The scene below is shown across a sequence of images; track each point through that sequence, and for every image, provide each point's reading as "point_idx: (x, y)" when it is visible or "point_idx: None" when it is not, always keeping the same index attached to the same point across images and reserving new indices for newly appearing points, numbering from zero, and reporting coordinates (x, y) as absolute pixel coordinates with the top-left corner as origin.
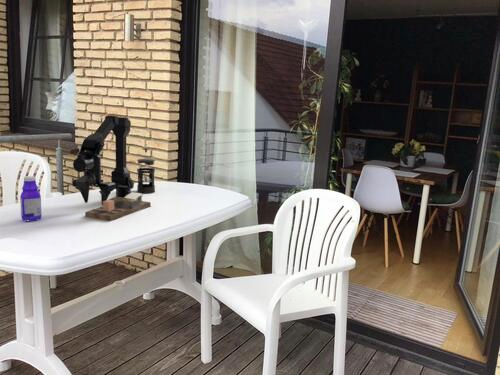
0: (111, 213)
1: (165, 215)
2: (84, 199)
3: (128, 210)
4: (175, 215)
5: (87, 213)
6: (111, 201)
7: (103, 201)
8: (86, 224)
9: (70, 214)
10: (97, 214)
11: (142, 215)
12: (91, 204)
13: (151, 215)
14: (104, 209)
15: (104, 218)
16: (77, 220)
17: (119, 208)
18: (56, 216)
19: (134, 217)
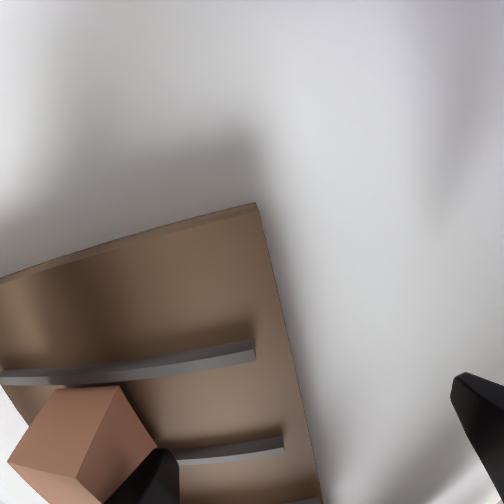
0: (19, 369)
1: (21, 485)
2: (493, 393)
3: None
4: (14, 490)
5: (215, 219)
6: (43, 496)
7: (66, 477)
8: (17, 68)
9: (449, 152)
10: (56, 264)
11: None
12: None
13: None
14: (93, 398)
15: (12, 275)
16: (180, 47)
17: None
18: (459, 32)
19: (19, 427)
